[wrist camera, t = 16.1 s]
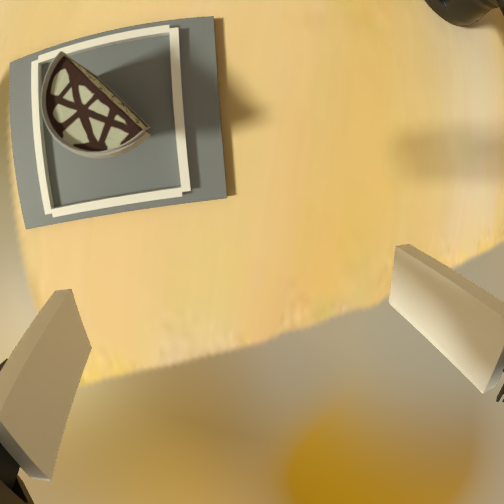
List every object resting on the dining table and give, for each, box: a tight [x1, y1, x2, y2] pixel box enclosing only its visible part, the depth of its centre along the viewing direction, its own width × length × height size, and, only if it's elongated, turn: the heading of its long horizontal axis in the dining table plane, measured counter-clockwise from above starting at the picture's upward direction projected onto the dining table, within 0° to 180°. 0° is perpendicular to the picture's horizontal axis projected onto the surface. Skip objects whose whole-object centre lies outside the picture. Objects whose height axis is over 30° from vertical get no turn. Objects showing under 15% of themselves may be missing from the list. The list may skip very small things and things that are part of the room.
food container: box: [41, 51, 151, 158], centre depth 26 cm, size 12×6×10 cm, turn 42°
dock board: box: [9, 16, 227, 229], centre depth 31 cm, size 26×22×2 cm
